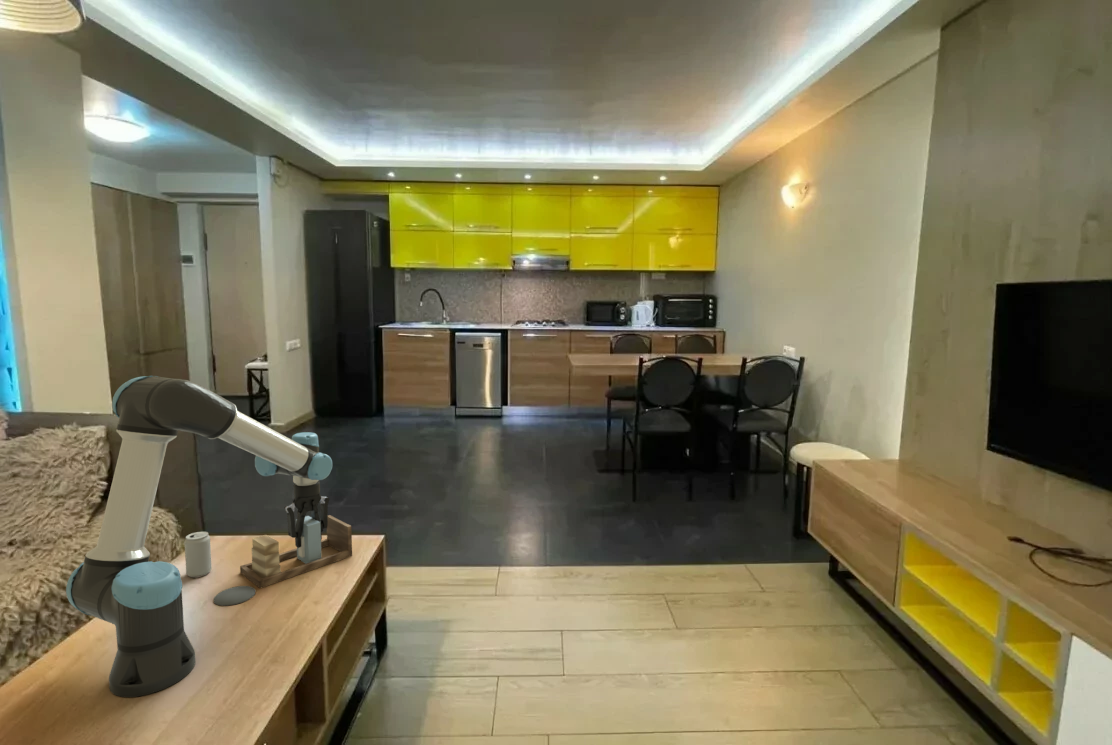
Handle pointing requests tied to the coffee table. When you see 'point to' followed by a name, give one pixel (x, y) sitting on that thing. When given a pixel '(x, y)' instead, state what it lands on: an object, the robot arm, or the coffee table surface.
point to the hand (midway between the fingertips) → (309, 553)
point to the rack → (336, 538)
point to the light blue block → (311, 540)
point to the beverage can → (198, 554)
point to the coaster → (234, 595)
